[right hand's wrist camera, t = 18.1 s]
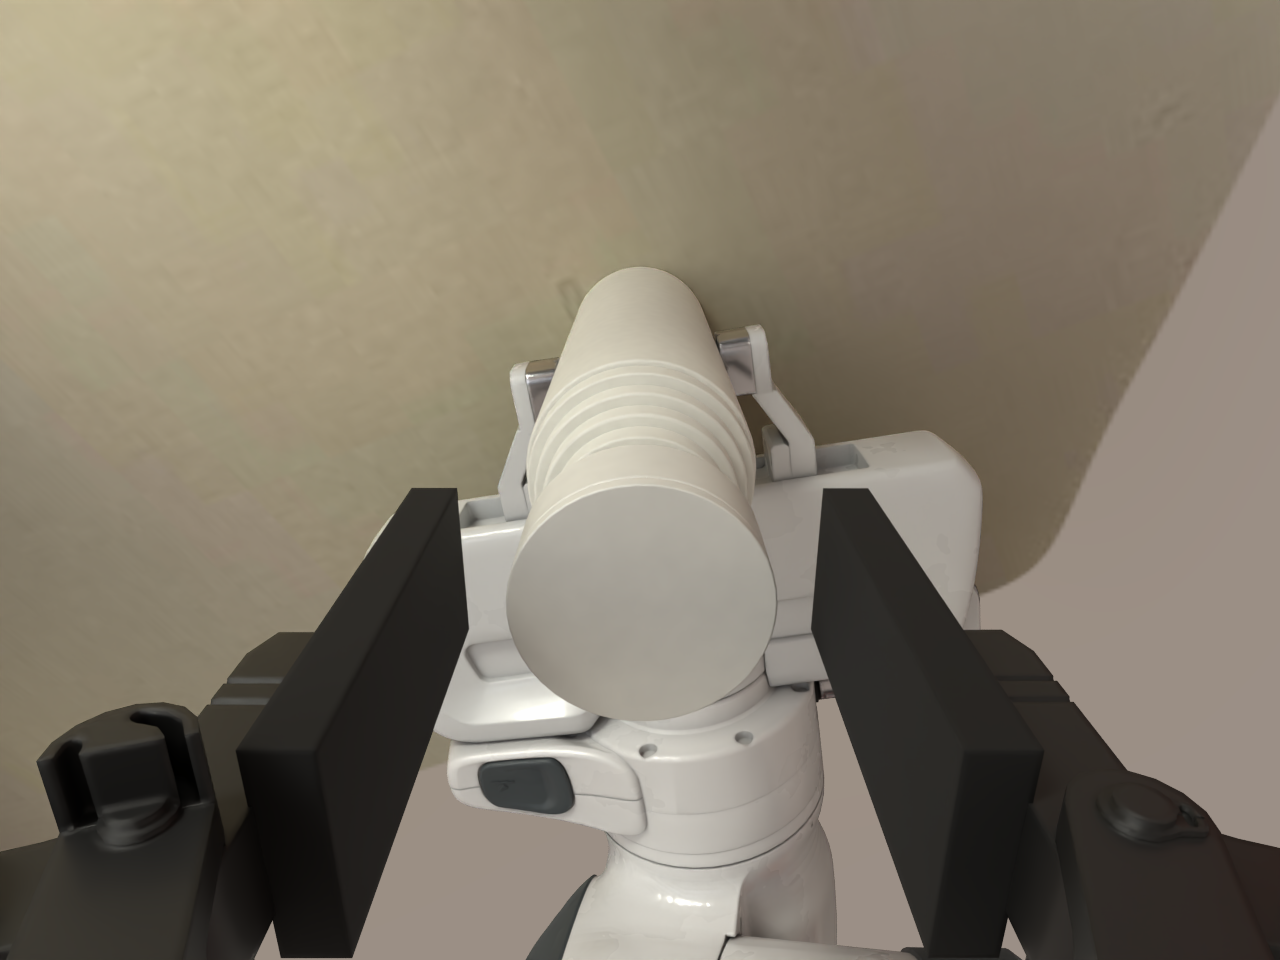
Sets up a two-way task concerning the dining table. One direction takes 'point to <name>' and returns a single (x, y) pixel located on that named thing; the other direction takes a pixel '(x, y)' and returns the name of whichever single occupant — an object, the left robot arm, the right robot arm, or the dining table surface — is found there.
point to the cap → (641, 585)
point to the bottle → (640, 383)
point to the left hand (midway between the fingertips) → (634, 347)
